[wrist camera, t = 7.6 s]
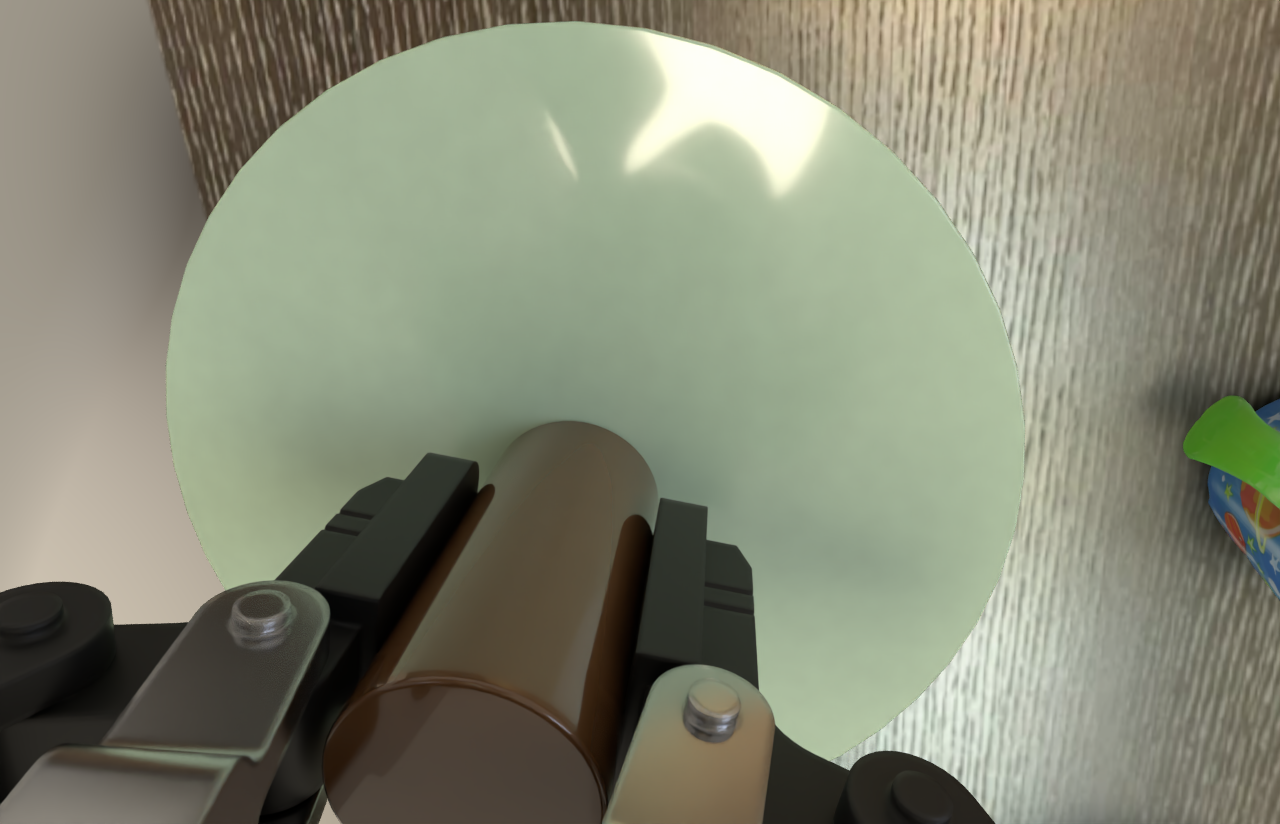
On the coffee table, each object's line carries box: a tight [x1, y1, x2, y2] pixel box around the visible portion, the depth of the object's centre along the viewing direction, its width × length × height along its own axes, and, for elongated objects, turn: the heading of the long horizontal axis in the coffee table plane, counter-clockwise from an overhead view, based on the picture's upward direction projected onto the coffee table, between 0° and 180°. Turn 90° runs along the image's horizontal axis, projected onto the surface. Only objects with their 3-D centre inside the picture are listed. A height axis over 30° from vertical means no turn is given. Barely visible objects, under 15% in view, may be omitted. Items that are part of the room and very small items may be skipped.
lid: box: [166, 21, 1025, 824], centre depth 11 cm, size 14×14×7 cm
